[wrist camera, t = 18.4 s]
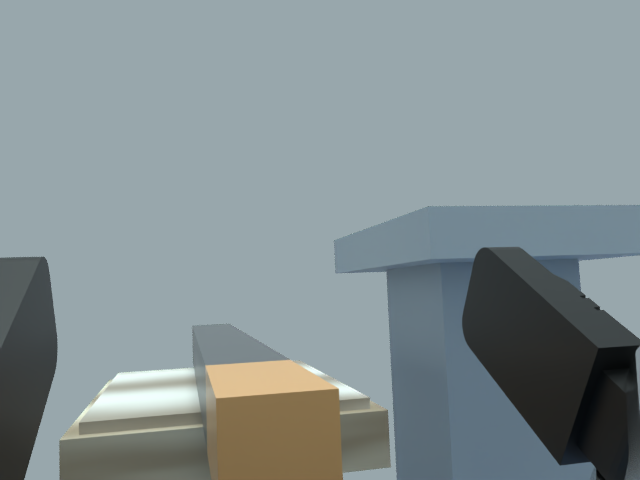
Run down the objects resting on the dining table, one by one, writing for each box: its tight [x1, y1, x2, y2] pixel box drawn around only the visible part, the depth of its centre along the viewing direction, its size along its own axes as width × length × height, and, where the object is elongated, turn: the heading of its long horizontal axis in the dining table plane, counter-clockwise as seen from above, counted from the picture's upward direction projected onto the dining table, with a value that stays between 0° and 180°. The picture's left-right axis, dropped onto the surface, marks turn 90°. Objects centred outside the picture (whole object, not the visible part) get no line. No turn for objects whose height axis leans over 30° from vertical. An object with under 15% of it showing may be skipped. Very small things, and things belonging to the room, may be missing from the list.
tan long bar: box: [192, 324, 343, 480], centre depth 23 cm, size 26×2×2 cm, turn 13°
